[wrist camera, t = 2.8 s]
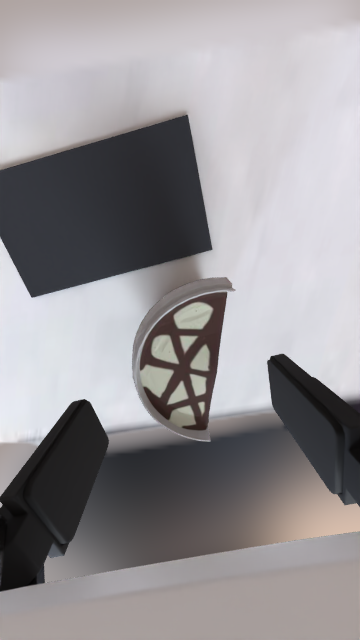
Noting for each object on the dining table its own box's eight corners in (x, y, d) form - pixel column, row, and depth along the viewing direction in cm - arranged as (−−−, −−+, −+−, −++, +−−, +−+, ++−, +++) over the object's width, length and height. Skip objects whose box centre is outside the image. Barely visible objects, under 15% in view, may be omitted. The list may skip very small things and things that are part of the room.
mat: (33, 297, 19) (31, 297, 19) (-27, 180, 16) (-30, 179, 16) (211, 249, 18) (212, 249, 18) (187, 117, 15) (187, 114, 15)
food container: (148, 268, 19) (122, 271, 9) (205, 272, 19) (237, 280, 10) (146, 368, 22) (126, 445, 13) (194, 370, 23) (209, 446, 13)
